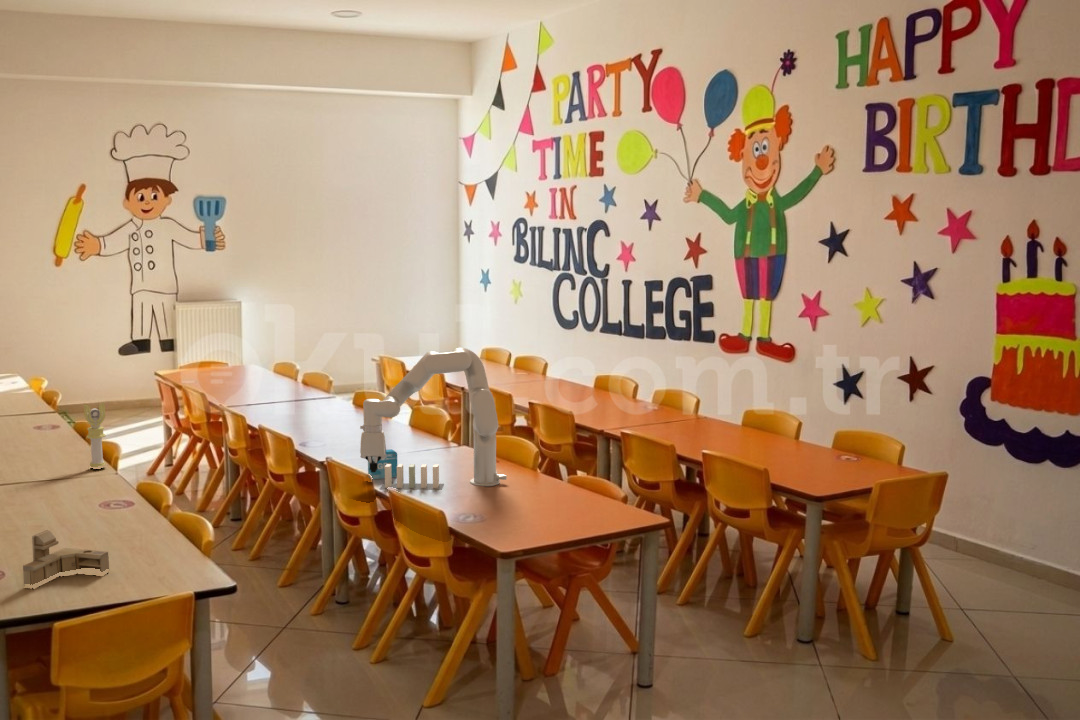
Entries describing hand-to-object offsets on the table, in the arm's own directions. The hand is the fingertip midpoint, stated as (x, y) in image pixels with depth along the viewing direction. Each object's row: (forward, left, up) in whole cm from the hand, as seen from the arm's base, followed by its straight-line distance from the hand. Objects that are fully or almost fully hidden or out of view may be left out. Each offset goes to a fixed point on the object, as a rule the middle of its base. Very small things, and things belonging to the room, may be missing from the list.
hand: (373, 471), depth 423 cm
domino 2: (-11, 0, -6) cm, 13 cm away
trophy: (+130, -29, -7) cm, 133 cm away
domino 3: (-16, 0, -6) cm, 17 cm away
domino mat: (-16, 0, -7) cm, 17 cm away
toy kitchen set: (+75, +114, -7) cm, 137 cm away
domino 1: (-6, 0, -6) cm, 9 cm away
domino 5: (-26, 0, -6) cm, 27 cm away
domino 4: (-21, 0, -6) cm, 22 cm away
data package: (-1, -16, -7) cm, 18 cm away
